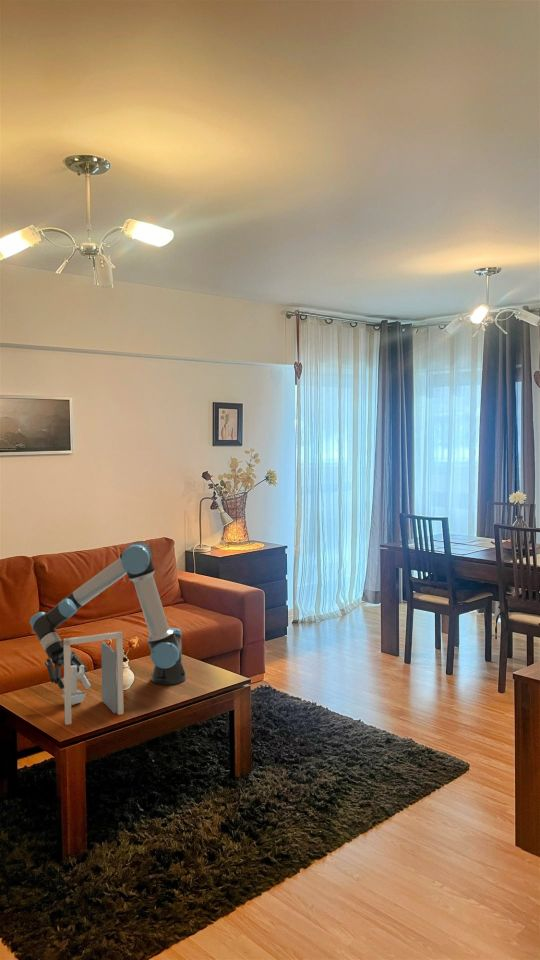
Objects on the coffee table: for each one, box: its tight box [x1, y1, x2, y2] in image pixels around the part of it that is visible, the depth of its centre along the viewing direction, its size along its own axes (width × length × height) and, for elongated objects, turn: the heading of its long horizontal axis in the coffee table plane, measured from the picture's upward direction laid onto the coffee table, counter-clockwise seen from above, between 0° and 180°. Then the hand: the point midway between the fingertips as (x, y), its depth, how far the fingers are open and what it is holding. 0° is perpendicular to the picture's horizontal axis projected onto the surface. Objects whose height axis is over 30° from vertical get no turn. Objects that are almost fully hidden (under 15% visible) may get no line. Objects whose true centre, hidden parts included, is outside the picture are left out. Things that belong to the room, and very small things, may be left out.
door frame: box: [63, 631, 125, 726], centre depth 264 cm, size 22×2×32 cm, turn 119°
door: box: [100, 641, 117, 714], centre depth 276 cm, size 16×3×24 cm, turn 29°
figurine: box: [60, 665, 87, 706], centre depth 282 cm, size 7×9×15 cm
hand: (78, 690), depth 280 cm, fingers closed on figurine, 9 cm apart
